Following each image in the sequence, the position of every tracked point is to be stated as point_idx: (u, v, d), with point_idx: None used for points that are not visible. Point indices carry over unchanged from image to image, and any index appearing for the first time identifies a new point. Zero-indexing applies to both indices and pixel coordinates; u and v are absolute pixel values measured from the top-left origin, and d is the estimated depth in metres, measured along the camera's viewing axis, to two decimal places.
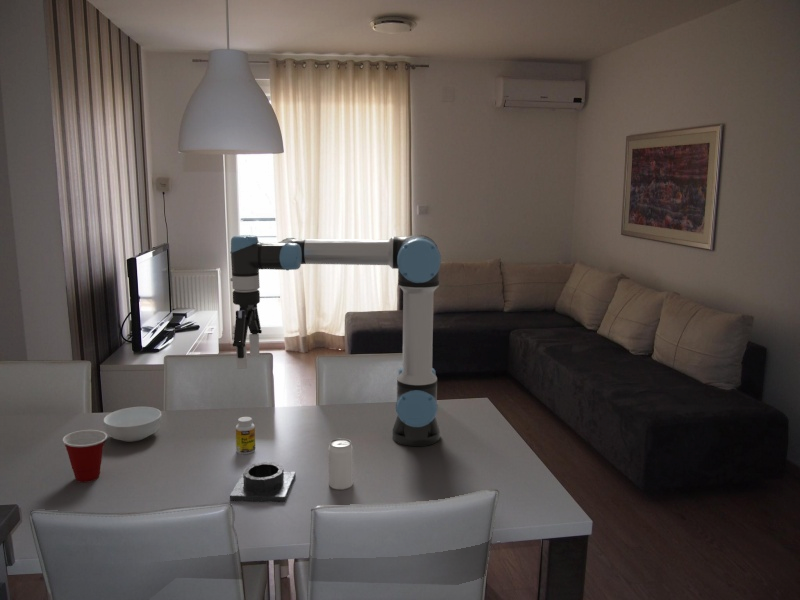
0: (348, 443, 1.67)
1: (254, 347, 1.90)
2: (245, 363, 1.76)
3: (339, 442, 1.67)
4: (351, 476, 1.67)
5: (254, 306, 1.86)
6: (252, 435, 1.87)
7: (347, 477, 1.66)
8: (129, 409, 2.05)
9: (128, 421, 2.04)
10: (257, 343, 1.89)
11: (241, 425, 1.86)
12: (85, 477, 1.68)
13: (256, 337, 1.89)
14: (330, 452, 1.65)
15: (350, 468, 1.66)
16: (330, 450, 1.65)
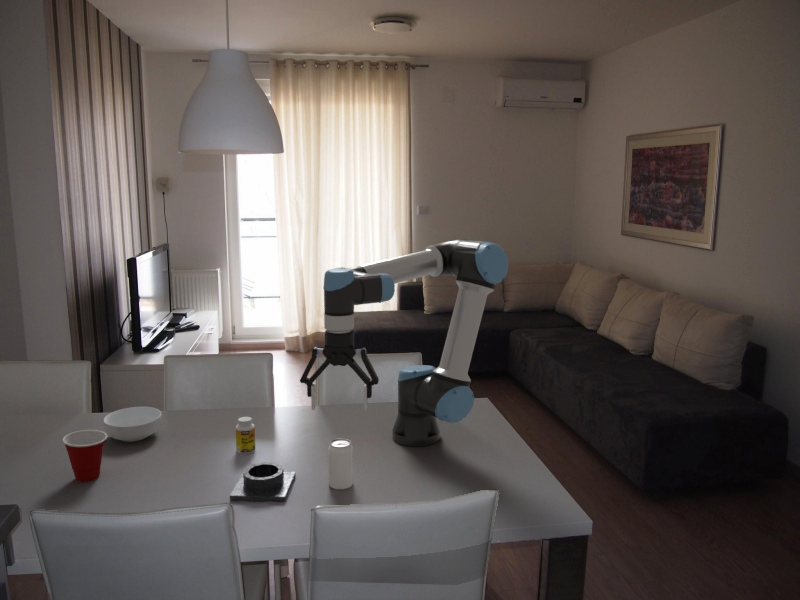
0: (348, 443, 1.67)
1: None
2: None
3: (339, 442, 1.67)
4: (351, 476, 1.67)
5: (361, 353, 1.61)
6: (252, 435, 1.87)
7: (347, 477, 1.66)
8: (129, 409, 2.05)
9: (128, 421, 2.04)
10: None
11: (241, 425, 1.86)
12: (85, 477, 1.68)
13: (364, 389, 1.63)
14: (330, 452, 1.65)
15: (350, 468, 1.66)
16: (330, 450, 1.65)
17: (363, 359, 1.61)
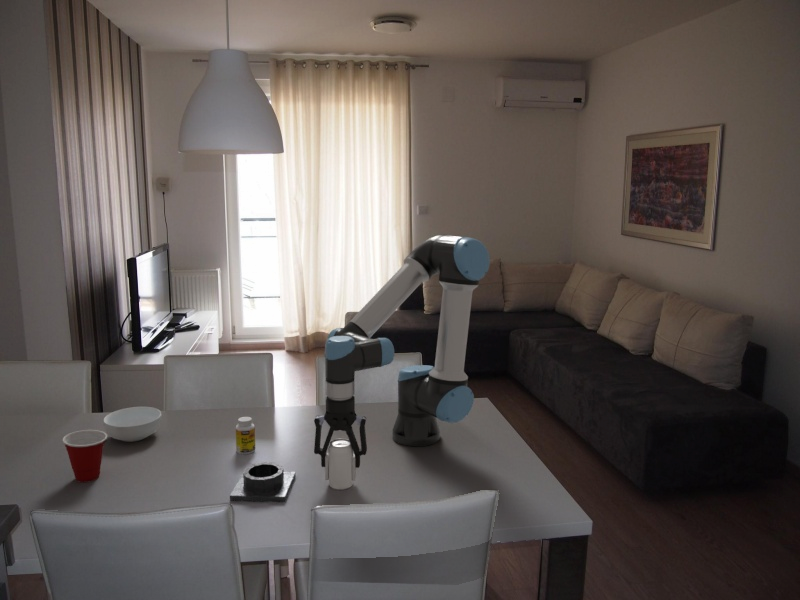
0: (348, 443, 1.67)
1: None
2: None
3: (339, 442, 1.67)
4: (351, 476, 1.67)
5: (360, 422, 1.65)
6: (252, 435, 1.87)
7: (347, 477, 1.66)
8: (129, 409, 2.05)
9: (128, 421, 2.04)
10: (352, 466, 1.67)
11: (241, 425, 1.86)
12: (85, 477, 1.68)
13: (352, 459, 1.67)
14: (330, 452, 1.65)
15: (350, 468, 1.66)
16: (330, 450, 1.65)
17: (360, 428, 1.64)
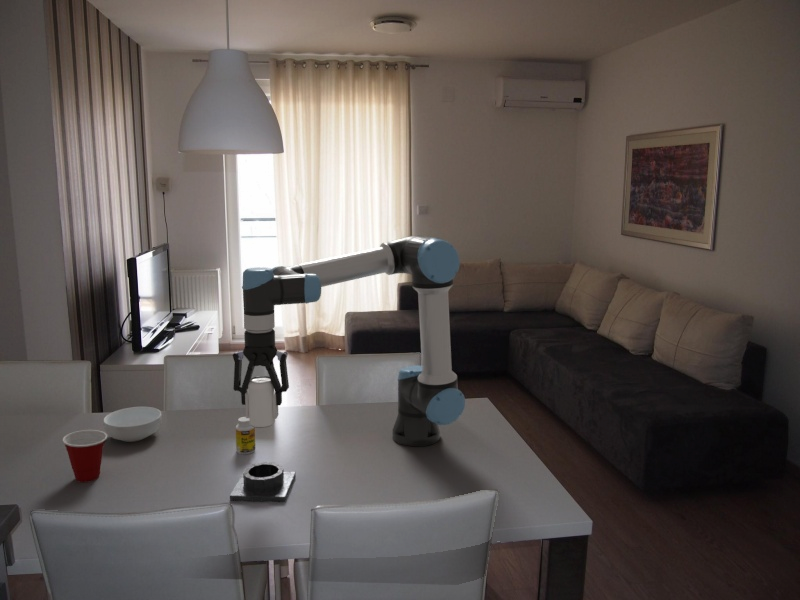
0: (269, 380, 1.61)
1: None
2: (246, 412, 1.61)
3: (260, 379, 1.62)
4: (272, 414, 1.61)
5: (281, 357, 1.59)
6: (252, 435, 1.87)
7: (267, 414, 1.60)
8: (129, 409, 2.05)
9: (128, 421, 2.04)
10: None
11: (241, 425, 1.86)
12: (85, 477, 1.68)
13: None
14: (249, 388, 1.59)
15: (270, 405, 1.60)
16: (249, 386, 1.59)
17: (281, 363, 1.59)
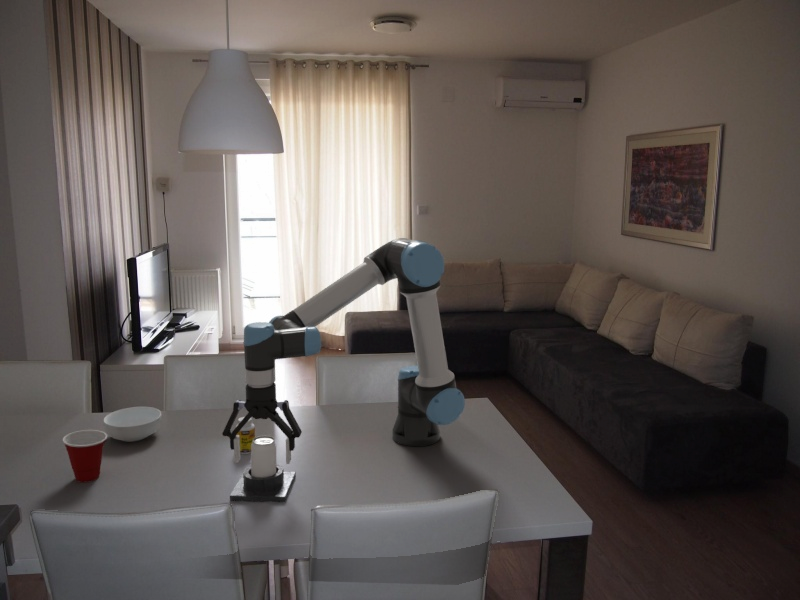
0: (271, 441, 1.64)
1: None
2: None
3: (262, 439, 1.65)
4: (273, 474, 1.64)
5: None
6: (252, 435, 1.87)
7: (269, 475, 1.63)
8: (129, 409, 2.05)
9: (128, 421, 2.04)
10: (286, 449, 1.63)
11: None
12: (85, 477, 1.68)
13: None
14: (252, 449, 1.62)
15: (272, 466, 1.63)
16: (252, 447, 1.62)
17: (284, 412, 1.61)
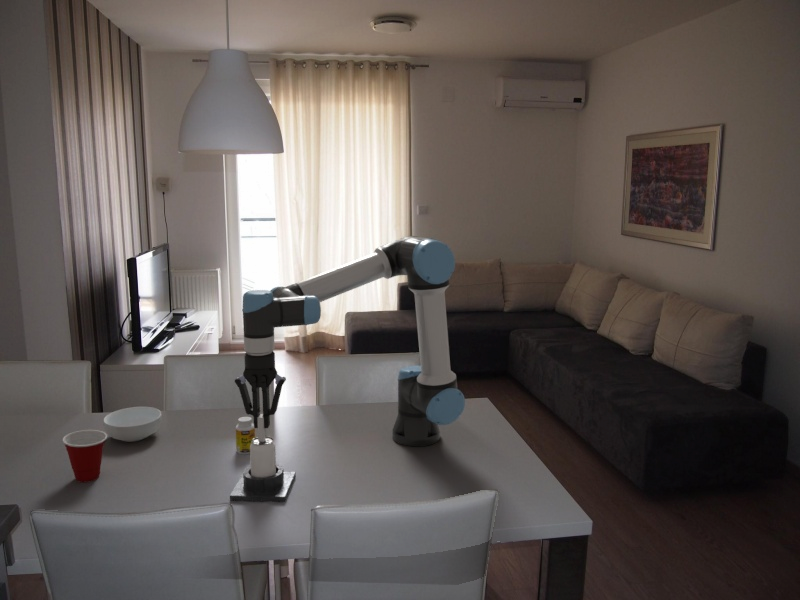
0: (270, 441, 1.64)
1: None
2: None
3: None
4: (273, 474, 1.64)
5: (279, 381, 1.60)
6: (252, 435, 1.87)
7: (268, 475, 1.63)
8: (129, 409, 2.05)
9: (128, 421, 2.04)
10: None
11: (241, 425, 1.86)
12: (85, 477, 1.68)
13: None
14: (251, 450, 1.62)
15: (271, 466, 1.63)
16: (251, 448, 1.62)
17: (277, 387, 1.60)
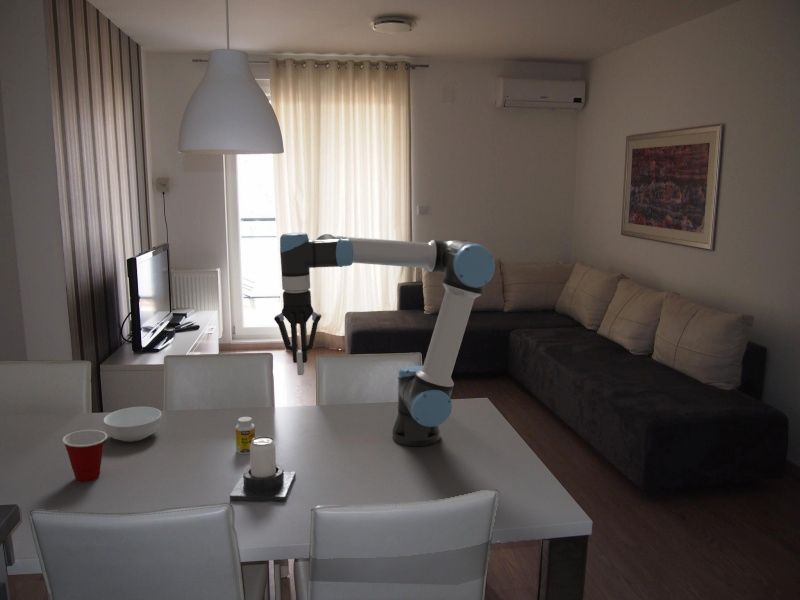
0: (270, 441, 1.64)
1: None
2: None
3: (261, 440, 1.65)
4: (273, 474, 1.64)
5: (315, 317, 1.72)
6: (252, 435, 1.87)
7: (268, 475, 1.63)
8: (129, 409, 2.05)
9: (128, 421, 2.04)
10: None
11: (241, 425, 1.86)
12: (85, 477, 1.68)
13: None
14: (251, 450, 1.62)
15: (271, 466, 1.63)
16: (251, 448, 1.62)
17: (314, 323, 1.72)
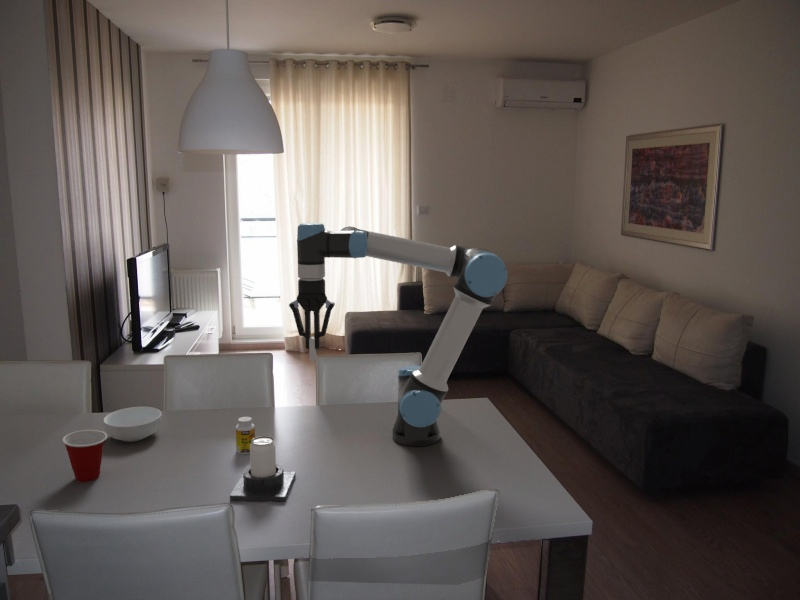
0: (270, 441, 1.64)
1: None
2: None
3: (261, 440, 1.65)
4: (273, 474, 1.64)
5: (329, 305, 1.77)
6: (252, 435, 1.87)
7: (268, 475, 1.63)
8: (129, 409, 2.05)
9: (128, 421, 2.04)
10: None
11: (241, 425, 1.86)
12: (85, 477, 1.68)
13: None
14: (251, 450, 1.62)
15: (271, 466, 1.63)
16: (251, 448, 1.62)
17: (327, 311, 1.77)
